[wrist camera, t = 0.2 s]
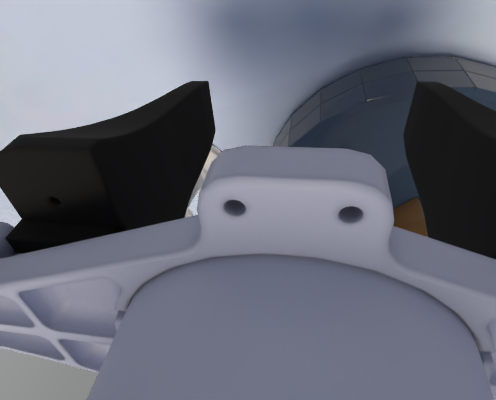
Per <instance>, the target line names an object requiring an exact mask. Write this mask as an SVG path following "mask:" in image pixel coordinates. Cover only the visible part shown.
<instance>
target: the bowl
mask: <svg viewBox="0 0 496 400" xmlns="http://www.w3.org/2000/svg"><path fill="white" fill-rule="evenodd" d="M417 81H432V82H440V83H442V84H445V85H447V86H449V87H451V88H453V89H454V90H456V91H458V92H460V93H462V94H464V95H465V96H467V97H469V98H471V99H473V100H475V101H476V102H478V103H480V104H482V105H484V106H486V107H488V108H490V109H492V110H495V111H496V67H493V66H489V65H485V64H481V63H478V62H474V61H470V60H466V59H462V58H458V57H407V58H401V59H397V60H393V61H389V62H384V63H380V64H377V65H373V66H370V67H366V68H362V69H360V70H357V71H355V72H354V73H352V74H350V75H347V76H345V77H343V78H341V79H339V80H338V81H336V82H334V83H332V84H330V85H329V86H327V87H325V88H323V89H322V90H320V91H319V92H318V93H316V94H315V95H314V96H313V97H312V98H311V99H310V100H308V101H307V102H306V103H305V104H304V105H303V106H302V107H300V108H299V109H298V110H297V111H296V112H295V113H294V114H293V115H292V116H291V117H290V119H289V120H288V122H287V123H286V125H285V126H284V128H283V129H282V131H281V132H280V134H279V135H278V137H277V138H276V140H275V142H274V144H273V146H276V147H309V148H341V149H350V150H354V151H358V152H362V153H366V154H370V155H371V156H372V157H373V158H374V159H375V160H376V161H377V162H378V163H379V164H380V165H382V166H383V167H384V168H385V170H386V175H387V180H388V185H389V189H390V194H391V199H392V204H393V209H395V208H396V207H398V206H400V205H402V204H404V203H406V202H408V201H409V200H411V199H413V198H415V197H417V198H418V199H419V200H420V198H419V195H418V192H417V189H416V186H415V183H414V180H413V177H412V174H411V171H410V168H409V165H408V161H407V158H406V153H405V146H404V137H403V134H404V130H405V126H406V122H407V118H408V114H409V110H410V106H411V102H412V99H413V95H414V91H415V87H416V83H417Z"/></svg>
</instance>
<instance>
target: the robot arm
mask: <svg viewBox="0 0 496 400" xmlns="http://www.w3.org/2000/svg"><path fill="white" fill-rule="evenodd" d="M214 134H215V124H214V117H213V110H212V103H211V96H210V89H209V82H208V81H191V82H188V83H186V84H184V85H182V86H180V87H178V88H176V89H174V90H172V91H171V92H169V93H167V94H165V95H163V96H162V97H160V98H158V99H156V100H154V101H152V102H150V103H148V104H146V105H144V106H142V107H140V108H138V109H135V110H133V111H131V112H128V113H126V114H123V115H120V116H117V117H115V118H112V119H108V120H104V121H101V122H97V123H94V124H90V125H86V126H81V127H77V128H71V129H66V130H60V131H53V132H44V133H34V134H24V135H19V136H18V137H17V138H16V139H14V140H13V141H12V142H11V143H10V144H9V145H7V146H6V147H5V148H4V149H3V150H2V151H0V187H1V189H2V190H3V192H4V193H5V195H6V196H7V198H8V199H9V201H10V202H11V204H12V205H13V206H14V208H15V209H16V211H17V212H18V214H19V215H20V217H21V218H22V220H21V221H20V222H19V223H18V224H17V225H16V226H15V228H14V227H13V226H12V225H10V224H8V223H4V222H0V348H2V349H7V350H11V351H17V352H20V353H24V354H28V355H33V356H36V357H40V358H44V359H47V360H51V361H55V362H58V363H62V364H66V365H69V366H73V367H77V368H80V369H84V370H88V371H91V372H95V373H98V375H97V377H96V380H95V382H94V384H93V386H92V388H91V390H90V393H89V395H88V397H87V399H86V400H496V111H495V110H492V109H490V108H488V107H486V106H484V105H482V104H480V103H478V102H476V101H475V100H473V99H471V98H469V97H467V96H465V95H464V94H462V93H460V92H458V91H456V90H454V89H453V88H451V87H449V86H447V85H445V84H442V83H440V82H432V81H417V83H416V87H415V91H414V95H413V99H412V102H411V106H410V110H409V114H408V118H407V122H406V126H405V130H404V134H403V137H404V146H405V153H406V158H407V161H408V165H409V168H410V171H411V174H412V177H413V180H414V183H415V186H416V189H417V192H418V195H419V198H420V201H421V205H422V208H423V212H424V217H425V222H426V228H427V234H428V237H426V236H423V235H420V234H417V233H414V232H411V231H408V230H404V229H401V228H398V227H395V226H393V224H394V214H393V204H392V199H391V194H390V189H389V185H388V180H387V175H386V170H385V168H384V167H383V166H382V165H380V164H379V163H378V162H377V161H376V160H375V159H374V158H373V157H372V156H371V155H370V154H366V153H362V152H358V151H354V150H350V149H341V148H309V147H276V146H241V147H236V148H232V149H227V150H224V151H223V152H222V153H221V154H220V155H219V156H218V157H216V158H215V159H214V160H213V161H212V162H211V164H210V167H209V169H208V172H207V174H206V177H205V179H204V182H203V185H202V187H201V190H200V192H199V199H198V206H197V212H198V215H195V216H190V217H186V218H185V214H186V211H187V207H188V204H189V200H190V198H191V195H192V192H193V190H194V188H195V185H196V183H197V181H198V178H199V176H200V174H201V172H202V169H203V167H204V165H205V162H206V160H207V158H208V155H209V153H210V150H211V147H212V143H213V139H214Z"/></svg>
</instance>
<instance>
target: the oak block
mask: <svg viewBox="0 0 496 400" xmlns="http://www.w3.org/2000/svg"><path fill="white" fill-rule="evenodd" d="M393 214H394V224H393V226H395V227H398V228H401V229H404V230H408V231H411V232H414V233H417V234H420V235H423V236H426V237H428V234H427V228H426V222H425V217H424V212H423V208H422V205H421V201H420V200H419V199H418V198H417V197H415V198H413V199H411V200H409V201H408V202H406V203H404V204H402V205H400V206H398V207H396V208H395V209H393Z"/></svg>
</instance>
